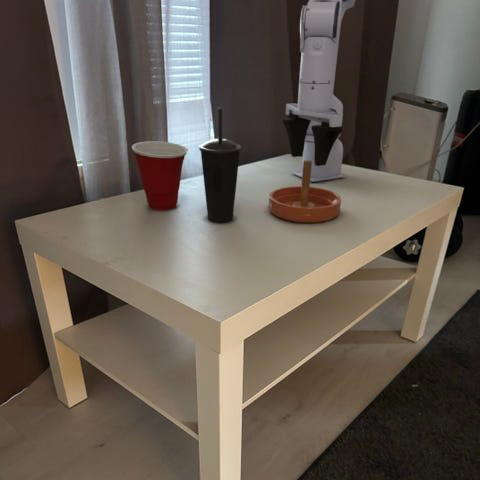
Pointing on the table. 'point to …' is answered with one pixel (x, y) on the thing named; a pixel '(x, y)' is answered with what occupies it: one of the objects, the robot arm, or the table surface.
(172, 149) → the plastic cup
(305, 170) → the stirring stick
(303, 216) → the bowl
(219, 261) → the table surface
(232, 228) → the table surface
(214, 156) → the drinking cup
